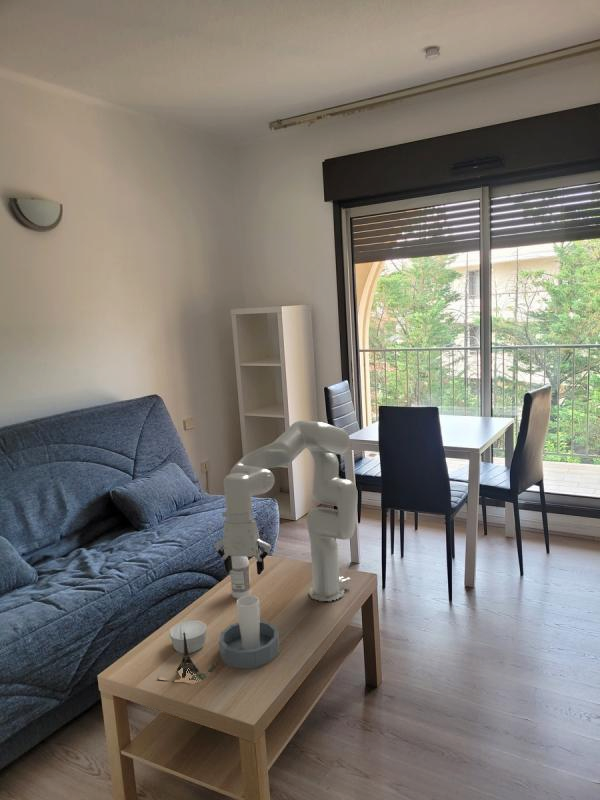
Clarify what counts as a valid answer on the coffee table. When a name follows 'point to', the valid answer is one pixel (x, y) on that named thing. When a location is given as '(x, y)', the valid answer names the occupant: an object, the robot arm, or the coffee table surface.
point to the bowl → (249, 658)
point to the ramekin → (189, 635)
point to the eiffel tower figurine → (191, 665)
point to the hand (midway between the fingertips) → (244, 571)
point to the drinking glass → (249, 621)
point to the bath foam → (240, 577)
